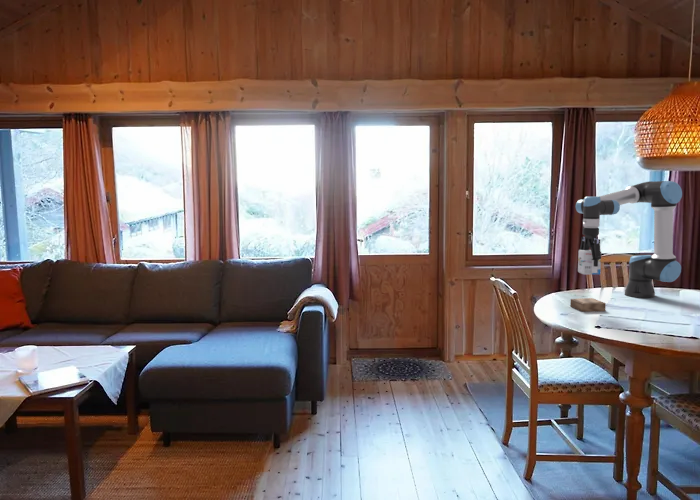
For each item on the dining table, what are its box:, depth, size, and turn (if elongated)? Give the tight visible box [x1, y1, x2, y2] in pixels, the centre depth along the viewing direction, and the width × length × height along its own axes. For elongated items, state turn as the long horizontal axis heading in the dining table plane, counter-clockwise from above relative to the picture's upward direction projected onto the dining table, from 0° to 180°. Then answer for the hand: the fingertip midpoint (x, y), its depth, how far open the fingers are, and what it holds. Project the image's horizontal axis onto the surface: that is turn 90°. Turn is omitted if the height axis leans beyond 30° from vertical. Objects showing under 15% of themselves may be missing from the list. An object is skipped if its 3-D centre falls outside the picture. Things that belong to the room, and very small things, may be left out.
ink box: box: [577, 249, 602, 275], centre depth 263 cm, size 8×8×12 cm
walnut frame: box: [569, 297, 606, 313], centre depth 265 cm, size 12×12×4 cm
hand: (589, 271), depth 263 cm, fingers closed on ink box, 9 cm apart
